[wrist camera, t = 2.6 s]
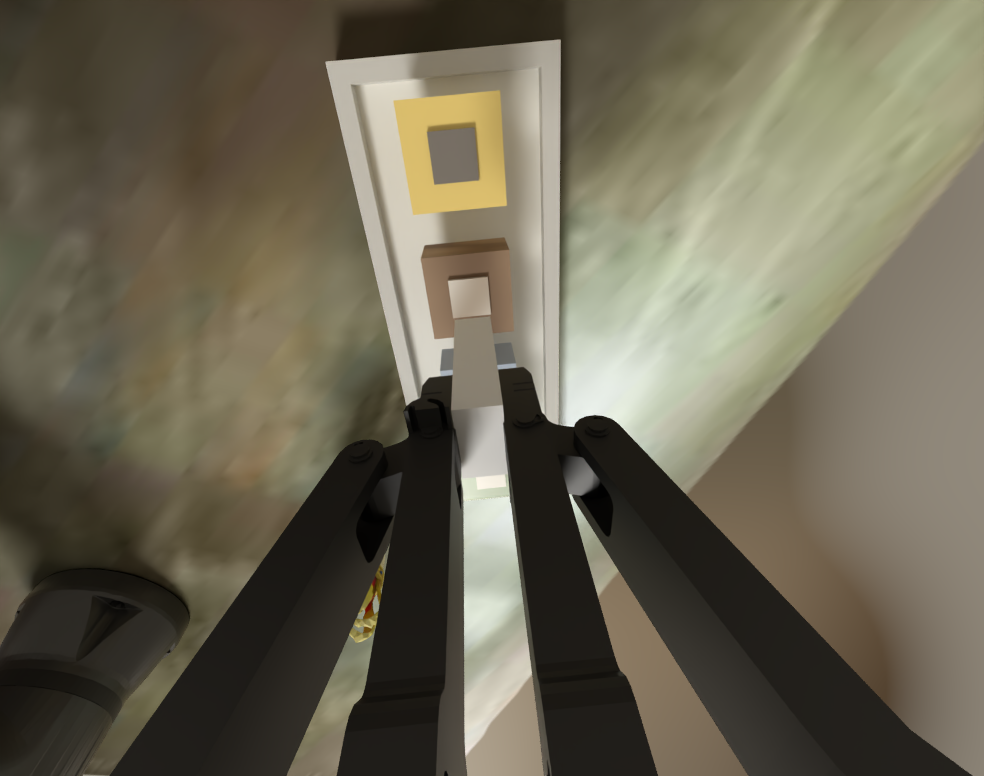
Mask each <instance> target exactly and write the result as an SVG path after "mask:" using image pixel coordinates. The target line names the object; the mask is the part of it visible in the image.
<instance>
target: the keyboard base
mask: <svg viewBox="0 0 984 776" xmlns="http://www.w3.org/2000/svg"><path fill="white" fill-rule="evenodd" d="M325 63H326V67H327V71H328V75H329V80H330V84H331V88H332V92H333V96H334V101H335V105H336V109H337V113H338V118H339V122H340V126H341V130H342V135H343V139H344V143H345V147H346V152H347V156H348V160H349V164H350V169H351V173H352V177H353V181H354V186H355V190H356V194H357V198H358V203H359V207H360V211H361V215H362V219H363V224H364V228H365V232H366V236H367V241H368V245H369V249H370V253H371V258H372V262H373V266H374V270H375V275H376V279H377V283H378V287H379V292H380V296H381V300H382V304H383V309H384V313H385V317H386V321H387V326H388V330H389V334H390V338H391V342H392V347H393V351H394V355H395V359H396V364H397V368H398V372H399V376H400V381H401V385H402V389H403V393H404V398H405V402H406V406H407V405H408V404H410V403H411V402H412V401H414V400H417V399H419V398H420V397H421V391H422V385H423V384H424V383H425V382H426V380H427V379H428V378H429V377H438V376H441V374H440V365H441V353H442V349H451V348H454V337H453V338H443V339H434V333H433V328H432V322H431V316H430V310H429V304H428V299H427V293H426V287H425V281H424V276H423V270H422V264H421V256H422V252H423V249H424V246H425V245H432V244H442V243H452V242H462V241H472V240H482V239H492V238H502V237H504V238H505V240H506V243H507V245H508V248H509V252H510V269H511V286H512V303H513V321H514V331H511V332H502V333H493V339H494V344H499V343H509V342H511V344H512V348H513V353H514V357H515V361H516V368H518V367H524V368H526V369H527V370H528V371H529V372H530V373H531V375H532V378H533V383H534V385H535V390H536V393H537V396H538V400H539V404H540V407H541V411H542V413H543V414H544V415H545V416H546V418H547V419H548V421H550V422H552V423H554V424H557V425H558V417H559V243H560V68H561V39H560V40H550V41H539V42H528V43H518V44H507V45H497V46H486V47H476V48H465V49H455V50H444V51H434V52H423V53H413V54H402V55H392V56H381V57H371V58H360V59H350V60H339V61H329V62H325ZM498 90H500V96H501V113H502V131H503V148H504V165H505V182H506V200H507V206H499V207H489V208H479V209H469V210H459V211H449V212H439V213H429V214H419V215H413V212H412V206H411V200H410V195H409V189H408V183H407V177H406V171H405V166H404V160H403V154H402V148H401V143H400V137H399V131H398V125H397V119H396V114H395V108H394V102H393V101H394V100H404V99H415V98H425V97H435V96H446V95H456V94H467V93H477V92H487V91H498Z"/></svg>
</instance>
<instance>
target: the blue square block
mask: <svg viewBox="0 0 984 776" xmlns="http://www.w3.org/2000/svg"><path fill="white" fill-rule="evenodd" d="M494 346H495V353H496V360H497V367H498V369H508V368H516V361H515V357H514V353H513V348H512V344H511V342H509V343H499V344H494ZM453 353H454V348H451V349H442V353H441V365H440V374H441V376H448V375H453Z"/></svg>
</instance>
